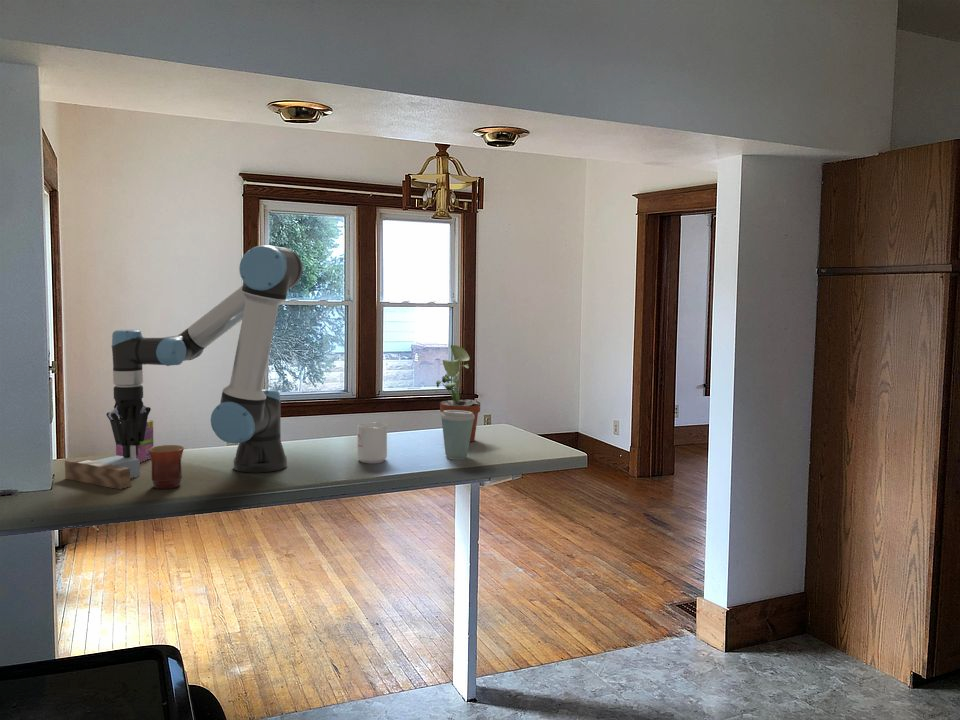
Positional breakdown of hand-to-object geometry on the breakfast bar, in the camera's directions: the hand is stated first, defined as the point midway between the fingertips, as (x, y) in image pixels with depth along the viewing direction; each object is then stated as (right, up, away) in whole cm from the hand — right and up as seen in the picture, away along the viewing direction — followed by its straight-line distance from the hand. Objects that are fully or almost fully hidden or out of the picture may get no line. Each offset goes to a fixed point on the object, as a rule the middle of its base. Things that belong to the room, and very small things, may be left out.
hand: (130, 468), depth 219 cm
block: (-2, -2, -4) cm, 5 cm away
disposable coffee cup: (+91, 0, +25) cm, 95 cm away
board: (-4, -2, -10) cm, 12 cm away
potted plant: (+91, +2, +51) cm, 104 cm away
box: (-5, 0, +15) cm, 15 cm away
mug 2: (+64, 0, +21) cm, 68 cm away
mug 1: (+15, -3, -12) cm, 20 cm away
